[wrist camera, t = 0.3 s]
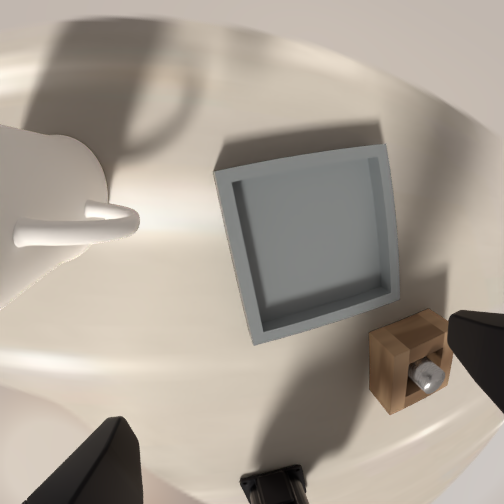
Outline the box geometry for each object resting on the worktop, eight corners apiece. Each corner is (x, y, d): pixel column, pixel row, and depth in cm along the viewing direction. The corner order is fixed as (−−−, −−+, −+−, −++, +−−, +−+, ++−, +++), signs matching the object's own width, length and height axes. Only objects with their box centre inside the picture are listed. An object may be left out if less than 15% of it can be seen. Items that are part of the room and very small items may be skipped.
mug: (170, 152, 18) (129, 115, 7) (145, 283, 20) (96, 403, 8) (15, 130, 16) (-108, 111, 4) (0, 249, 17) (-112, 309, 6)
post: (408, 355, 25) (443, 386, 20) (389, 364, 25) (422, 398, 20) (409, 336, 25) (447, 366, 20) (390, 344, 25) (425, 377, 19)
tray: (386, 290, 23) (400, 299, 21) (248, 331, 22) (253, 345, 20) (370, 145, 20) (385, 143, 18) (212, 172, 19) (214, 171, 17)
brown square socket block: (424, 364, 26) (447, 385, 22) (369, 389, 25) (389, 415, 22) (428, 308, 24) (456, 326, 21) (368, 332, 24) (394, 356, 20)
